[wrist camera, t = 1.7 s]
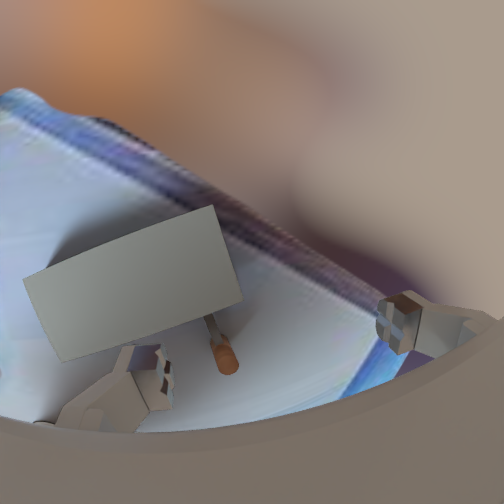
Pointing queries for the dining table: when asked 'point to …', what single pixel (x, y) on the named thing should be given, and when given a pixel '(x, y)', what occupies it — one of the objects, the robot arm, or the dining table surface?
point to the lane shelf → (135, 285)
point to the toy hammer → (221, 348)
